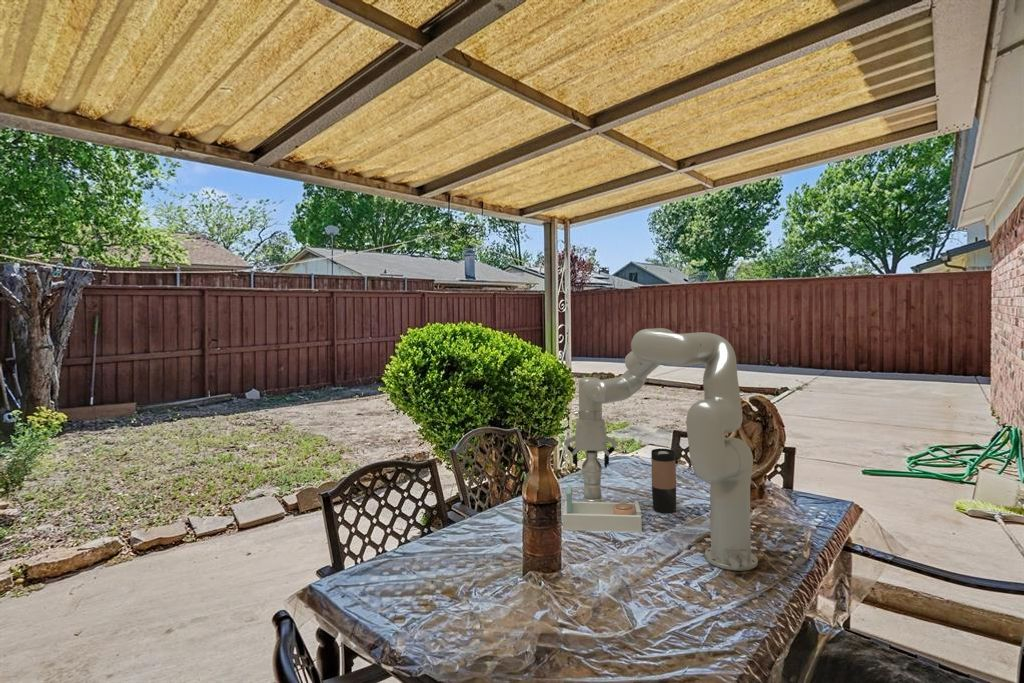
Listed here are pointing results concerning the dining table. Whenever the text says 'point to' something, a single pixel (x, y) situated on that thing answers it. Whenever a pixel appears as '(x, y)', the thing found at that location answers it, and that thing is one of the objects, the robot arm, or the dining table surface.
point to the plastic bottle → (592, 478)
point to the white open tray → (601, 517)
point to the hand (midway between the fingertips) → (590, 466)
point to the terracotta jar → (623, 509)
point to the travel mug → (663, 480)
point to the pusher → (569, 499)
